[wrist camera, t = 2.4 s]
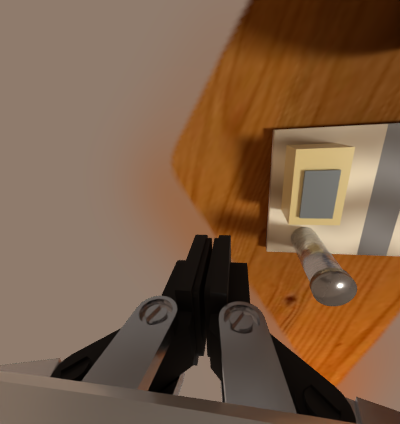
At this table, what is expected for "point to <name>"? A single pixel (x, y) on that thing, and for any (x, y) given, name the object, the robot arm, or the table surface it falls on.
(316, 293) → the steel pin
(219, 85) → the table surface
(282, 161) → the white square mat
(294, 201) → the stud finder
